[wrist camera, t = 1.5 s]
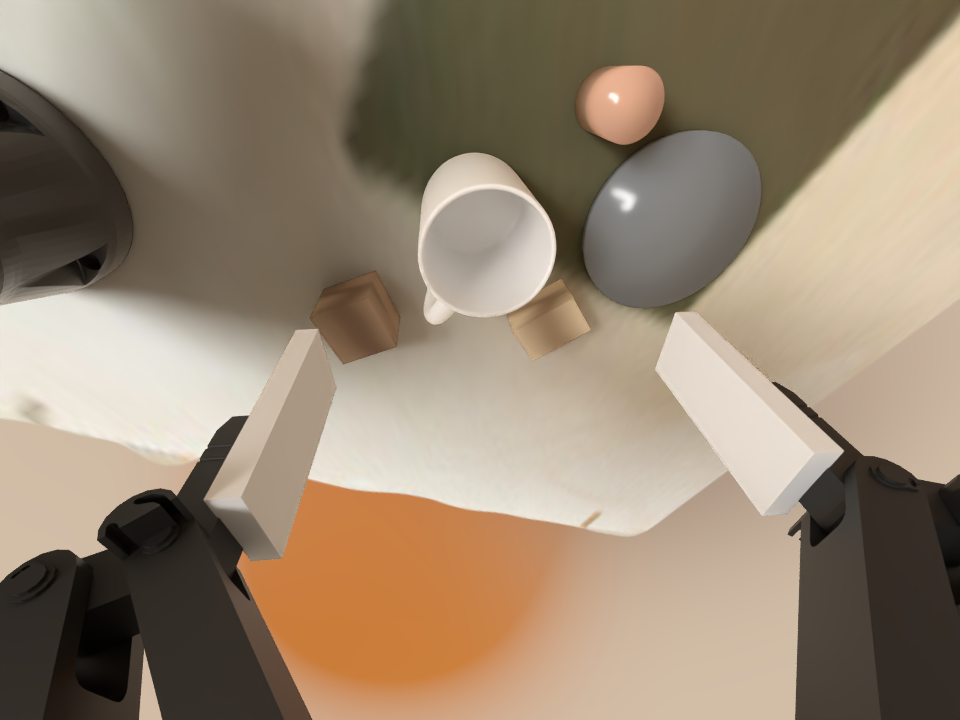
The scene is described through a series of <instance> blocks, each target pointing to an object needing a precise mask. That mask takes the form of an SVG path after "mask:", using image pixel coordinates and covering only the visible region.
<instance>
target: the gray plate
mask: <svg viewBox="0 0 960 720" xmlns="http://www.w3.org/2000/svg"><path fill="white" fill-rule="evenodd" d="M761 187H762V186H761V178H760V173H759V169H758V166H757V164H756V162H755V160H754V158H753V156H752V154H751V153H750V152H749V151H748V149H747V148H746V147H745V146H744V145H743V144H741V143H740V142H739V141H738V140H736V139H734V138H732V137H730V136H728V135H725V134H722V133H719V132H714V131H709V130H700V129H698V130H685V131H680V132H675V133H672V134H669V135H666V136H663V137H660V138H658V139H656V140H654V141H652V142H650V143H648V144H647V145H645V146H643V147H642V148H640V149H639V150H637V151H636V152H635V153H633V154H632V155H631V156H630V157H628V158H627V159H626V160H625V161H624V162H623V163H622V164H621V165H620V166H619V167H618V168H617V169H616V170H615V171H614V172H613V173H612V174H611V175H610V177H609V178H608V179H607V180H606V181H605V183H604V184H603V186H602V187H601V189H600V190H599V192H598V194H597V195H596V197H595V199H594V201H593V203H592V205H591V208H590V210H589V213H588V215H587V218H586V222H585V226H584V231H583V238H582V253H583V260H584V264H585V267H586V270H587V272H588V274H589V277H590V278H591V280H592V281H593V283H594V284H595V285H596V287H597V288H598V289H599V290H600V291H601V292H602V293H603V294H604V295H605V296H606V297H608V298H609V299H610V300H612V301H614V302H616V303H619V304H622V305H625V306H629V307H634V308H652V307H659V306H664V305H667V304H671V303H674V302H677V301H679V300H681V299H684V298H686V297H688V296H690V295H692V294H694V293H695V292H697V291H699V290H700V289H702V288H703V287H705V286H706V285H707V284H709V283H710V282H711V281H713V280H714V279H715V278H716V277H717V276H718V275H720V274H721V273H722V272H723V271H724V270H725V269H726V268H727V267H728V265H729V264H730V263H731V262H732V261H733V260H734V258H735V257H736V256H737V255H738V253H739V252H740V250H741V249H742V247H743V246H744V244H745V243H746V241H747V239H748V237H749V235H750V233H751V231H752V229H753V226H754V224H755V222H756V219H757V215H758V212H759V207H760V202H761Z"/></svg>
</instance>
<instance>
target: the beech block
mask: <svg viewBox="0 0 960 720" xmlns="http://www.w3.org/2000/svg"><path fill="white" fill-rule="evenodd" d="M507 316H508V319H509V322H510V326H511V329H512V332H513V334H514V335H515V337H516V338H517V340H518V341H519V342H520V344H521V345H522V347H523V348H524V349H525V351H526V352H527V354H528V355H529V356H530V358H531V359H532V360H533V361H534V360H536V359H538V358H540V357H542V356H544V355H546V354H547V353H549V352H551V351H553V350H555V349H557V348H558V347H560V346H562V345H564V344H566V343H568V342H570V341H571V340H573V339H575V338H577V337H579V336H581V335H583V334H584V333H586V332H588V331H590V330H591V329H590V328H589V326H588V324H587V322H586V320H585V318H584V317H583V315H582V313H581V311H580V309H579V307H578V306H577V304H576V302H575V300H574V298H573V297H572V295H571V293H570V292H569V290H568V288H567V287H566V285H565V283H564V282H563V280H562V278H561V279H559V280H558V281H556V282H554V283H552V284H551V285H549V286H547V287H546V288H544V289H542V290H541V291H540V292H539V293H538V294H537V295H536V296H535V297H534V298H533V299H532V300H531V301H529V302H528V303H527V304H525V305H524V306H522V307H521V308H519V309H517V310H515V311H513V312H510V313H508V314H507Z"/></svg>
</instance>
